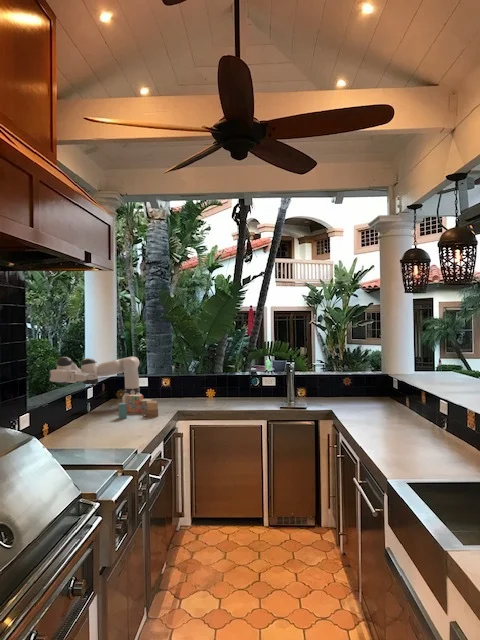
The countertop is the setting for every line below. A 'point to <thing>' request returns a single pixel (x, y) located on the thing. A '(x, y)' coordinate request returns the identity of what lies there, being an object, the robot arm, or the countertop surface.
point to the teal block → (122, 411)
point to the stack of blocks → (136, 403)
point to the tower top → (152, 405)
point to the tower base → (151, 413)
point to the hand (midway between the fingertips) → (94, 377)
